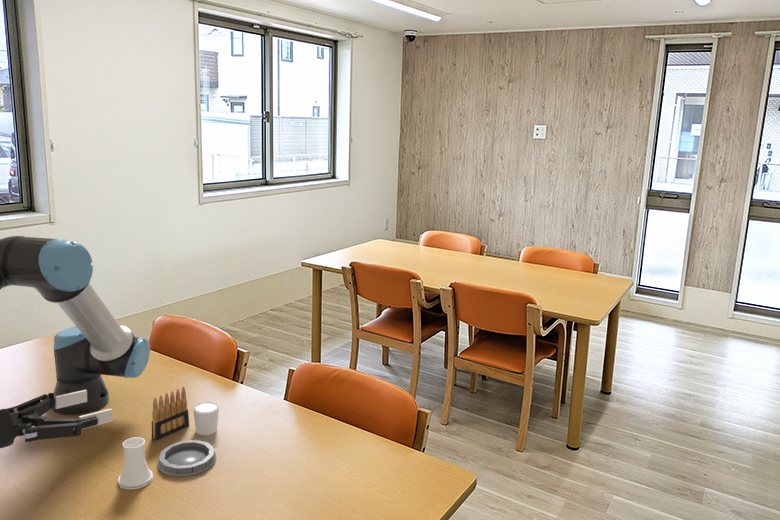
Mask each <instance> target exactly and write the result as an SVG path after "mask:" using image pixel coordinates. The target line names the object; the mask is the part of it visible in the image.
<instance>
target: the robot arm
mask: <svg viewBox="0 0 780 520" xmlns="http://www.w3.org/2000/svg"><path fill="white" fill-rule="evenodd" d="M92 262H93V259H92V255H91V254H90V252H89V250H88V249H87V248H86V247H85V246H84V245H83V244H82V243H79V242H78V241H74V240H68V239H64V238H47V237H34V236H33V237H31V236H24V235H13V236H6V237H3V238H0V290H2V289H3V288H6V287H10V286H11V287H12V286H16V287H28V288H33V289H35V290H36V291H37V292H38V293H39V294H40V295H41V296H42V298H43V299H44V300H45V301H47V302H49V303H52V304H53V303H54V304H57V305H58V306H59V307H60V309H61V310H62V311H63V312H64V313H65V314H66V316H67V317H68V318H69V320H71V322H72V323H73V324H74V326H71V327H68V328H65V329H62V330H60V331H59V332H58V333H56V334H55V336H54V337H53V347H52V348H53V352H54V353H53V354H54V365H55V366H54V367H55V375H56V377H55V378H56V383H55V385H54V386H55V387H54V390H53V392H49V393H48V394H45V393H43V394H42V395H39V396H37V397H34V398H31V399H30V400H27V401H25V402H22V403H20V404H18V405H15V406H11V407H8V408H7V407H6V408H0V449H4V448H7V447H10V446H12V445H13V444H14V443H15V439H16V438H17V437H24V442H26V443H30V442H35V441H39V440H40V441H42V440H50V439H51V440H52V439H62V438H73V437H74V438H75V437H80V436H82V430H86V429H90V428H91V427H97V426H100V425H104V424H107V423H111V422H113V409H112V408H106V409H103V410H99V409H101V408H103V407H104V406H106V404H108V403H109V400H110V393H109V390H108V387H107V385H106V384H105V381H104V379H103V377H102V375H103V376H111V377H120V378H125V379H129V378H131V379H135V378H138V377H139V376H141V375H142V374H143V373H144V371H145V369H146V368H147V365H148V362H149V360H150V355H151V345H150V344H151V343H150V341H149V340H148V338H146V337H142V336H140V337H138V336H135V335H134V334H133V332H132V330H131V329H130V328H128V326H126V325H123V324H119V322H118V321H117V320H116V318H115V317H114V315H113V314H112V312H111V311H110V310H109V308H108V307H107V306H106V304H105V303H104V302H103V300H102V299H101V297H100V296H99V294H98V293H97V291H96V290H95V289H94V287H93V286H92V285H91V284H90V282H91V279H92V276H93V271H94V265H92ZM50 410H53V412H55V413H56V414H60V415H67V416H68V415H70V416H71V415H79V416H78V418H49V417H48V418H47V416H45V414H46V413H48V412H49V411H50ZM97 410H99V411H97Z"/></svg>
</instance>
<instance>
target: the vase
mask: <svg viewBox="0 0 780 520" xmlns="http://www.w3.org/2000/svg"><path fill="white" fill-rule="evenodd" d="M145 443H146V440H145V438H143V437H140V436H139V437H138V436H136V437H130V438H127V439H125V440H124V441H123V442H122V447H123V456H124V457H123V458H124V459H123V467H122V471H121V474H120V475H119V477H118V479H117V481H118V486H119V487H120V488H121V489H124V490H138V489H141V488H144V487H146V486H147V485H149V484H150V483H151V482H152V481H153V479H154V478H153V477H154V476H153V471H152V470H151V469H149V466H148V463H147V460H146V455H145V445H146V444H145Z"/></svg>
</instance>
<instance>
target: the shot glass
mask: <svg viewBox="0 0 780 520" xmlns="http://www.w3.org/2000/svg"><path fill="white" fill-rule="evenodd" d="M219 410H220V404H218V403H217V402H213V401H204V402H199V403H197V404H196V405H194V406H193V408H192V411H193V418H194V426H195V432H196V434H197V435H199V436H210V435H213V434H215V433H216V432H217V431H218V424H219V423H218V422H219V421H218V420H219V412H220V411H219Z"/></svg>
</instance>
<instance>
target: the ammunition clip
mask: <svg viewBox="0 0 780 520" xmlns="http://www.w3.org/2000/svg"><path fill="white" fill-rule="evenodd" d="M189 418H190V417H189V409H188V401H187V393H186V389H185V386H182V388H181V393H180V390H179V388H177V389H176V391H175V393H174V391H173V390H171V392H170V397H169V393H167V392H166V393H165V396H164V398H163V395H160V396H159V400H158V399H157V398H156V397H154V398H153V401H152V420H151V439H152V440H153V441H159V440H162V439H163V438H166V437H168V436H170V435H172V434H175V433H177V432H179V431H181V430H184V429H185V428H188V427H190V419H189Z"/></svg>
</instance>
